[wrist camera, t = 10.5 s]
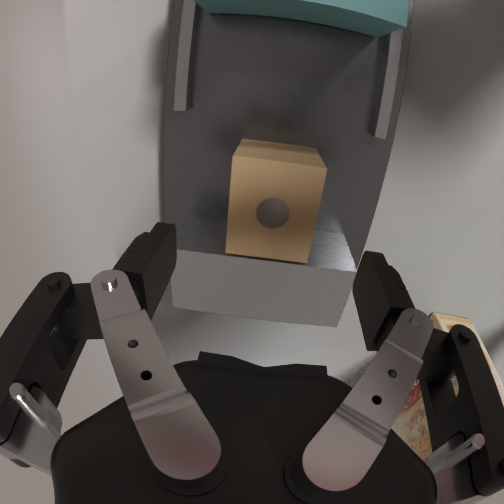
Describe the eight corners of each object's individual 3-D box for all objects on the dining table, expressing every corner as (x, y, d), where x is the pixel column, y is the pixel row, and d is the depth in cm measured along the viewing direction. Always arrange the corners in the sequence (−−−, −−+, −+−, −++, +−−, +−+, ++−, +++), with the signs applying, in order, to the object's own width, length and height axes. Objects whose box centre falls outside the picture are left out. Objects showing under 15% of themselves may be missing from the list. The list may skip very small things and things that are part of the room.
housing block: (242, 138, 20) (232, 156, 15) (315, 148, 20) (327, 169, 15) (235, 217, 23) (225, 253, 18) (301, 225, 23) (306, 263, 18)
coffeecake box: (432, 310, 28) (493, 472, 12) (471, 317, 29) (531, 454, 12) (371, 388, 36) (389, 519, 20) (410, 390, 37) (435, 508, 20)
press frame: (190, -56, 13) (163, -91, 7) (406, -25, 12) (445, -49, 7) (171, 264, 27) (148, 312, 22) (344, 286, 27) (357, 337, 22)
